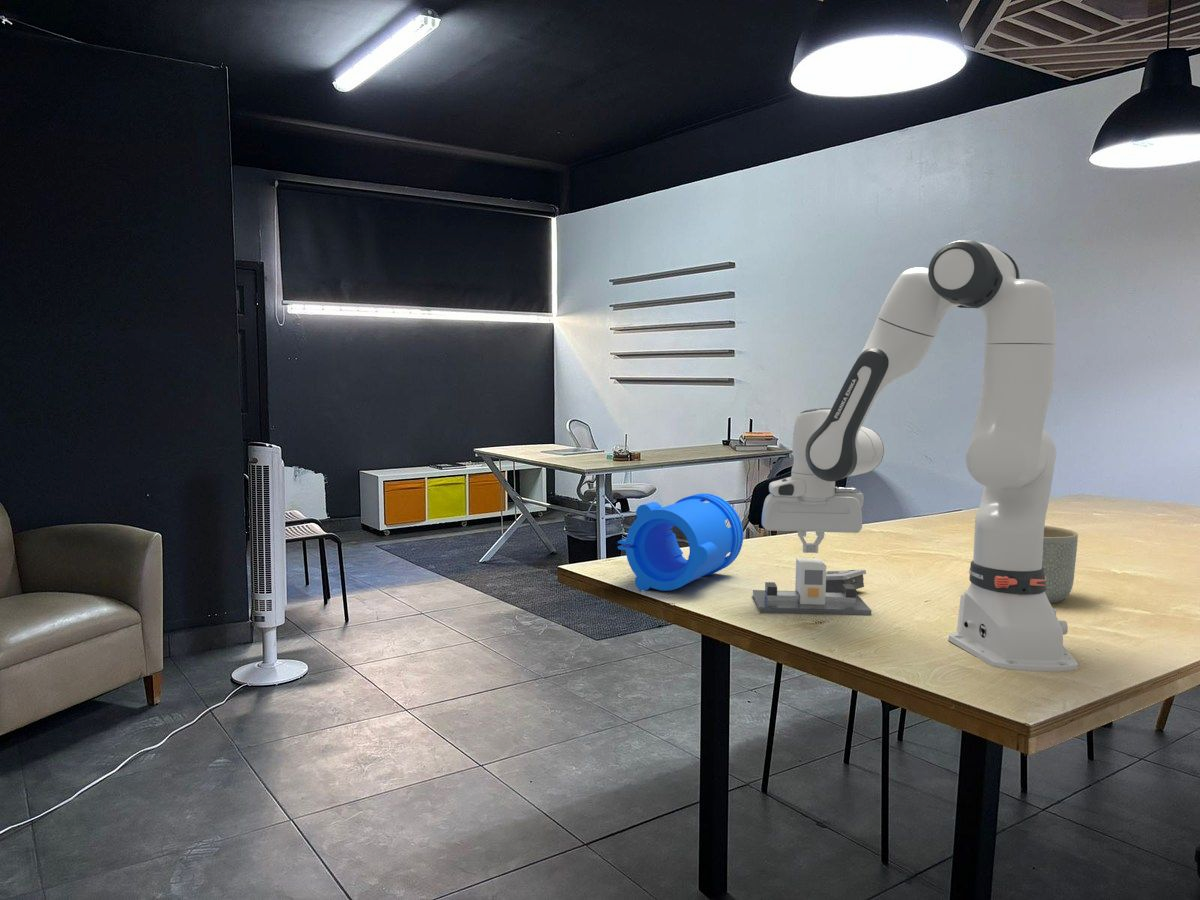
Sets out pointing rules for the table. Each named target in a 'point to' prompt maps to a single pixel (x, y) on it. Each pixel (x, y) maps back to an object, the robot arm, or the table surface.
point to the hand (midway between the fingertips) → (810, 552)
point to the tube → (658, 548)
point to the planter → (1059, 561)
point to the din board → (790, 604)
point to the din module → (810, 580)
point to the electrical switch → (844, 579)
